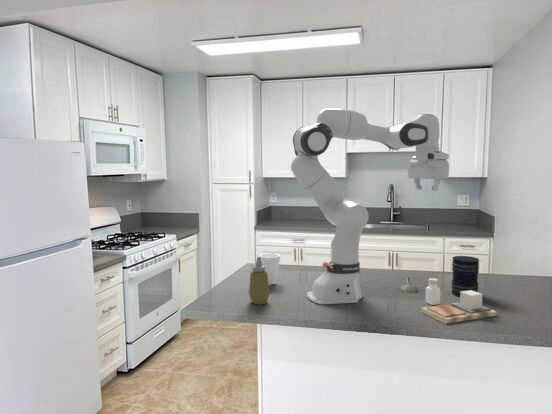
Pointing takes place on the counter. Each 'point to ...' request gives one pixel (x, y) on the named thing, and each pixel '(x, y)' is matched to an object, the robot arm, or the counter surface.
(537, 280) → the counter surface
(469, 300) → the cream block
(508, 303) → the counter surface
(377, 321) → the counter surface
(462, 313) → the oak board
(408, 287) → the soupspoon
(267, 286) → the squeeze bottle
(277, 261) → the foam cup
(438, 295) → the pepper shaker
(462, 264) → the storage jar
